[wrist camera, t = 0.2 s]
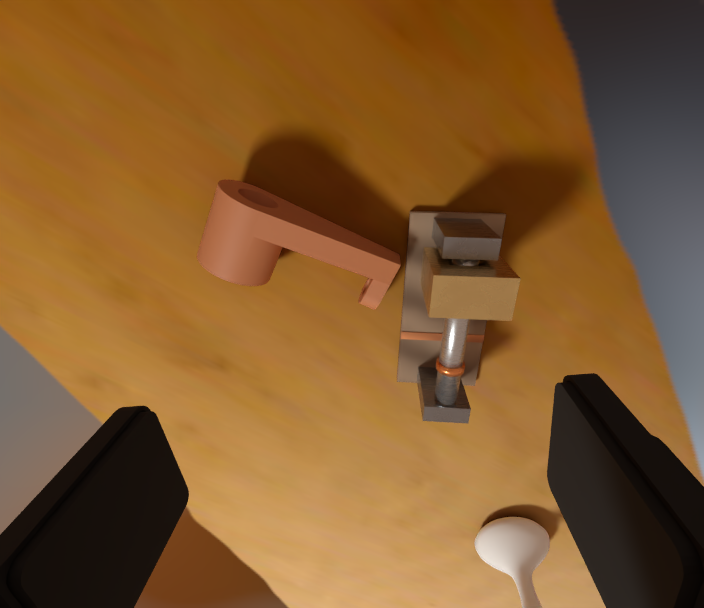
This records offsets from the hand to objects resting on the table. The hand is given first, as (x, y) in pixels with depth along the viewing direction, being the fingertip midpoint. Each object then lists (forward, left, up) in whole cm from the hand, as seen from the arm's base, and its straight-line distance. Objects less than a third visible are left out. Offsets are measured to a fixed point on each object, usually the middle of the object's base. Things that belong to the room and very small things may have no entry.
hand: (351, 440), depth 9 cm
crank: (+6, -8, -36) cm, 38 cm away
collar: (+7, +9, -32) cm, 34 cm away
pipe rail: (+13, +9, -36) cm, 39 cm away
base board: (+13, +9, -36) cm, 39 cm away
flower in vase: (+54, +24, -36) cm, 69 cm away
